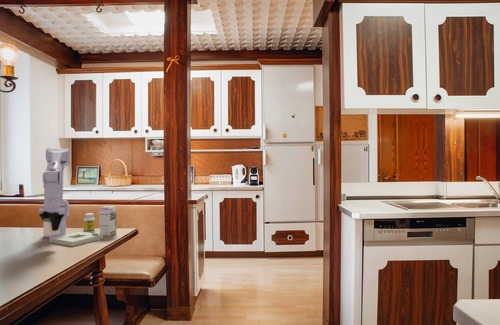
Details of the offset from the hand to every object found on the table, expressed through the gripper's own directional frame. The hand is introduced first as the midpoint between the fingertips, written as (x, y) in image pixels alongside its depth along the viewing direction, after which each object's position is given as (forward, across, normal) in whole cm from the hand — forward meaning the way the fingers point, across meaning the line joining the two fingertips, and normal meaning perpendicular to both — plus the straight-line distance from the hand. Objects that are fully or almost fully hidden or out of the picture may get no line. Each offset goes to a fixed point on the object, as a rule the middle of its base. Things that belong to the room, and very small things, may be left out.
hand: (51, 229), depth 136 cm
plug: (+2, 0, 0) cm, 2 cm away
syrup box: (+8, -1, +30) cm, 31 cm away
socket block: (+8, -3, +14) cm, 16 cm away
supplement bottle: (+8, -14, +29) cm, 33 cm away
